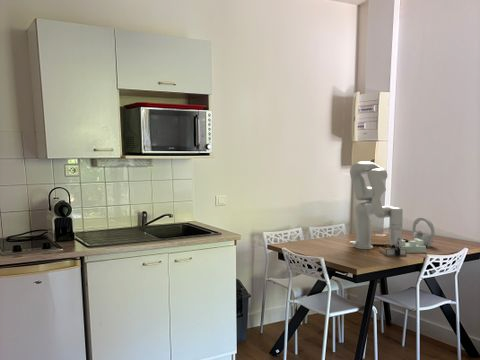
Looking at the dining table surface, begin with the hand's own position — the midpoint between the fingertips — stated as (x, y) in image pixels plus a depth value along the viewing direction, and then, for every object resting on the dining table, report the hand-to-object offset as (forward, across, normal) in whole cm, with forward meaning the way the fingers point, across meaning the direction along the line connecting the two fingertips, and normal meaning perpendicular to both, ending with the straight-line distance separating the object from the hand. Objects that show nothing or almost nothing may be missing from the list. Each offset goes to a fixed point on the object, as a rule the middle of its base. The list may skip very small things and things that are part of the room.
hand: (395, 254), depth 248 cm
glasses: (+1, -5, 0) cm, 5 cm away
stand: (+1, -13, +15) cm, 20 cm away
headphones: (+1, -28, +30) cm, 41 cm away
